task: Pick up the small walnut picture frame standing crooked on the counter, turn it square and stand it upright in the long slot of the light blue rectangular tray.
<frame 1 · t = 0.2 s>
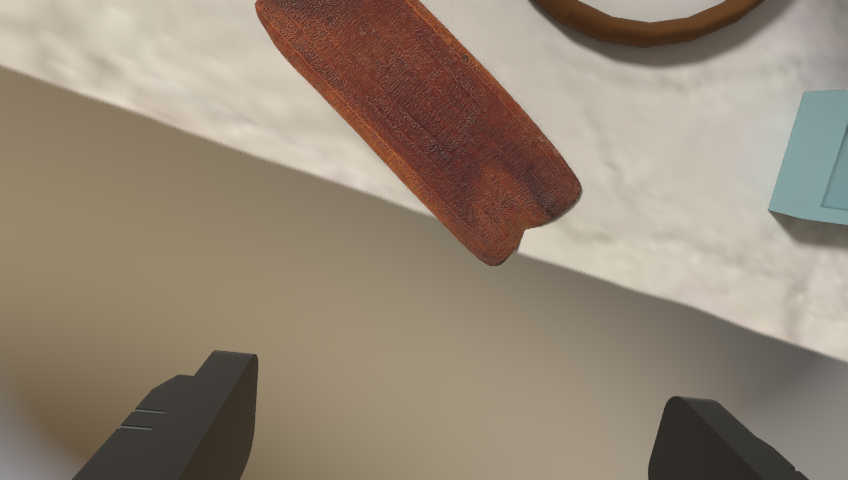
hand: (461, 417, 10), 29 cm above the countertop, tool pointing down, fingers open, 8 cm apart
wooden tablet: (422, 102, 37), on the countertop
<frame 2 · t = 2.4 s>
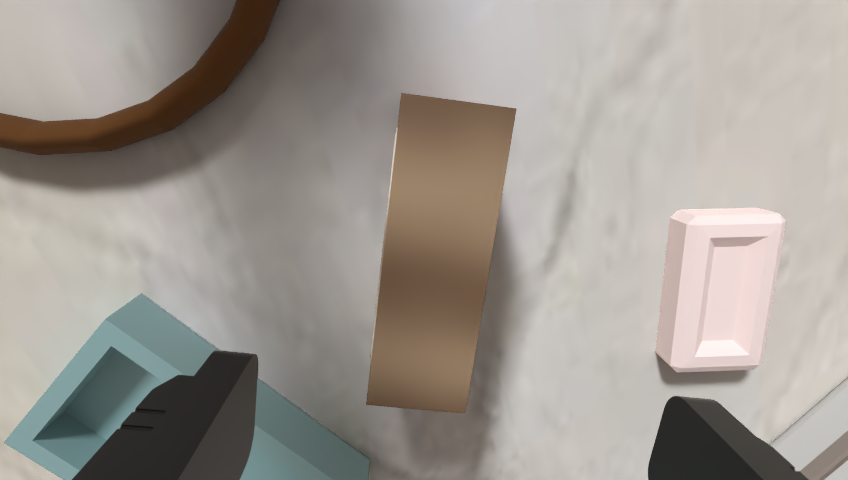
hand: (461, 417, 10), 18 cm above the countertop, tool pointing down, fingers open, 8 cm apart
soap bar: (702, 282, 30), on the countertop
picture frame: (424, 217, 27), on the countertop
light blue rectangular tray: (215, 432, 30), on the countertop
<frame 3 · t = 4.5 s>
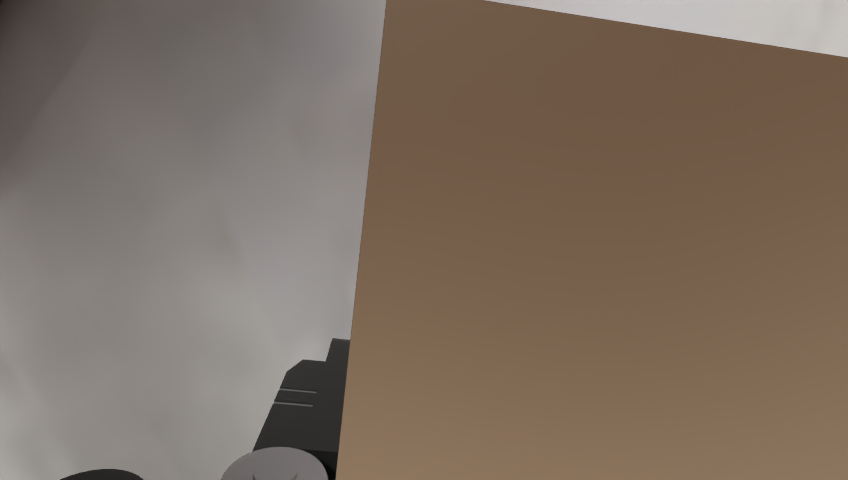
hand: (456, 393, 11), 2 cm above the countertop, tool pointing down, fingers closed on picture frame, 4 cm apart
picture frame: (449, 351, 12), on the countertop, touching gripper
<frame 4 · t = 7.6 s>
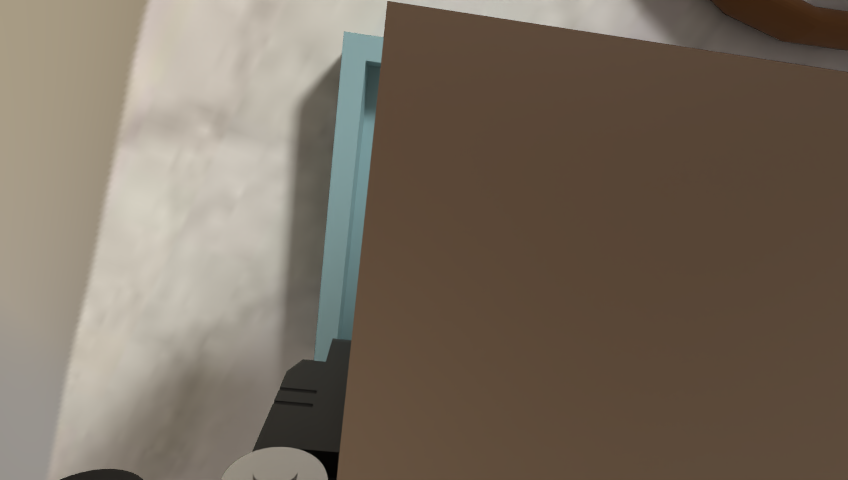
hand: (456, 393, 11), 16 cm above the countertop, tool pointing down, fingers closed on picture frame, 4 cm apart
picture frame: (448, 354, 12), point 15 cm above the countertop, touching gripper
light blue rectangular tray: (421, 221, 26), on the countertop
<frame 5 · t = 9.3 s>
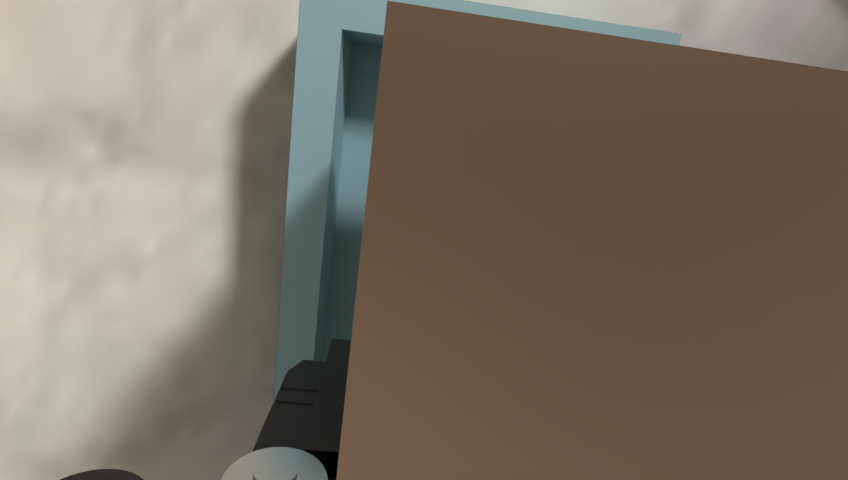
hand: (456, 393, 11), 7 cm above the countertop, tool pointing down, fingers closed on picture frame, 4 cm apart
picture frame: (448, 354, 12), point 5 cm above the countertop, touching gripper
light blue rectangular tray: (437, 288, 17), on the countertop
when the fingers open (5 cm above the countertop, at t = 10.5 s): picture frame drops 2 cm, resting on light blue rectangular tray.
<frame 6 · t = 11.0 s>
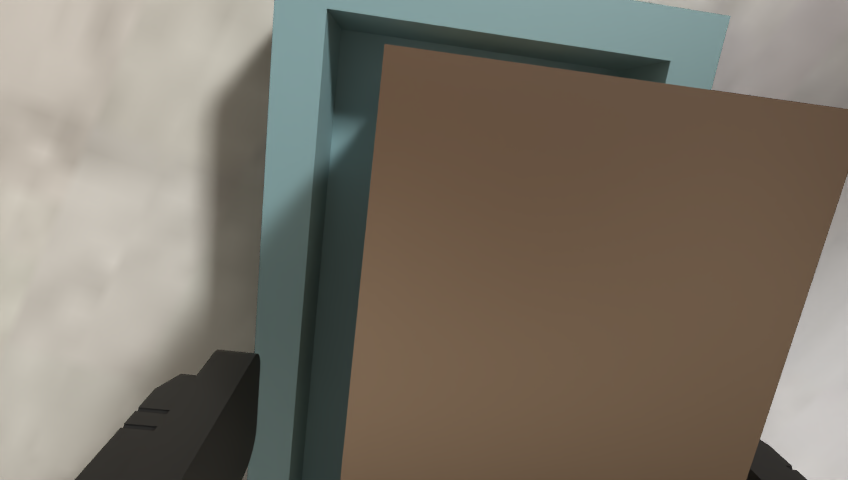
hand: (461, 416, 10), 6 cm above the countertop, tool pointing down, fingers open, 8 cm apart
picture frame: (441, 320, 14), point 1 cm above the countertop, touching light blue rectangular tray
light blue rectangular tray: (439, 307, 15), on the countertop
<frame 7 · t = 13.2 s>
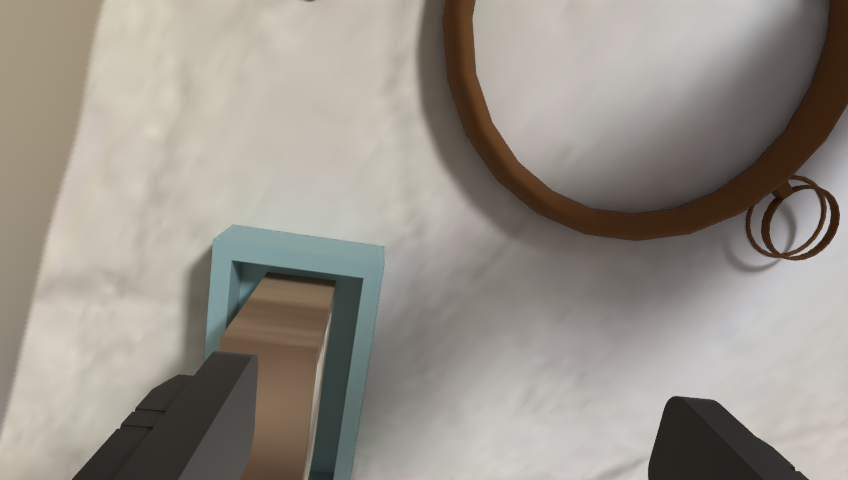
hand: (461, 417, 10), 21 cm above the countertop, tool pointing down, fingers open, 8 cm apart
picture frame: (291, 367, 31), point 1 cm above the countertop, touching light blue rectangular tray
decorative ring: (673, 69, 30), on the countertop
light blue rectangular tray: (294, 360, 32), on the countertop
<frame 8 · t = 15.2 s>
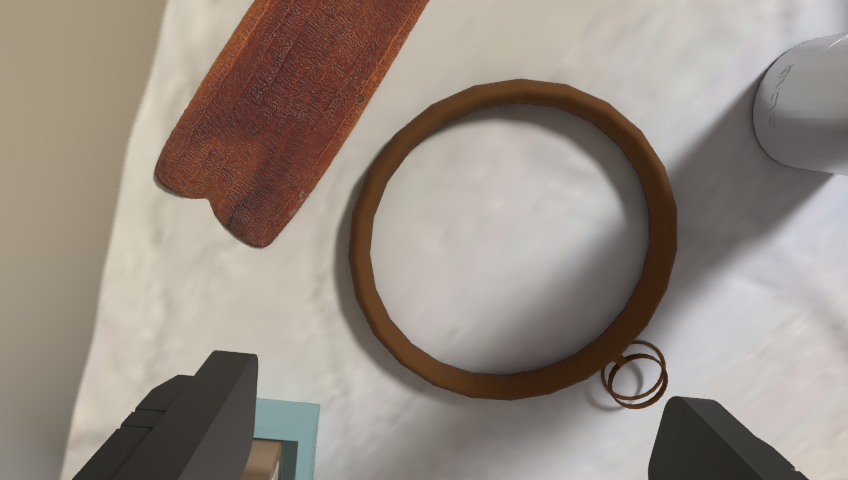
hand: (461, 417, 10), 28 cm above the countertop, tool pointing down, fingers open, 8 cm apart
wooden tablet: (311, 63, 35), on the countertop
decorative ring: (533, 269, 39), on the countertop
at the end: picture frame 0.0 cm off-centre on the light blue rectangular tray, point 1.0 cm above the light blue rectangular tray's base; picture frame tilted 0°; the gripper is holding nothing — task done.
